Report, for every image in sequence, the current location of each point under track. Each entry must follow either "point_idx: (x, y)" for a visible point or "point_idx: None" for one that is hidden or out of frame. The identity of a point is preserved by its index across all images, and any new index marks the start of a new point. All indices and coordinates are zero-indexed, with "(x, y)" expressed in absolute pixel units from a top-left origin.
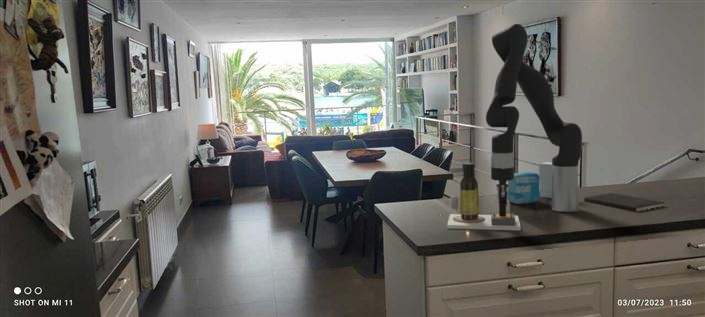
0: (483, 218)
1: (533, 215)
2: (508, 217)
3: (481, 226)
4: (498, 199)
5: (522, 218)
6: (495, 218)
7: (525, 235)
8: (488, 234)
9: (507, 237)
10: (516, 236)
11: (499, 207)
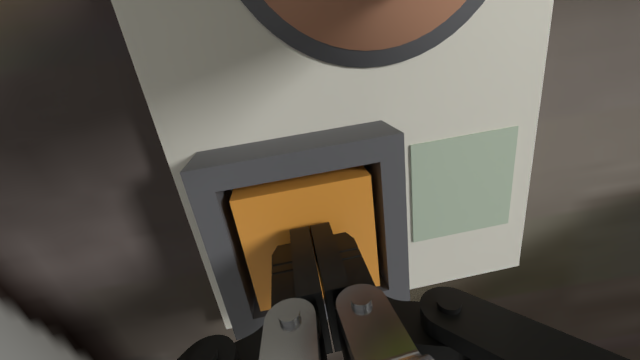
0: (408, 46)
1: (575, 307)
2: (258, 296)
3: (138, 69)
4: (440, 308)
5: (512, 272)
6: (192, 207)
7: (127, 348)
8: (17, 149)
9: (16, 278)
10: (75, 316)
11: (293, 281)
